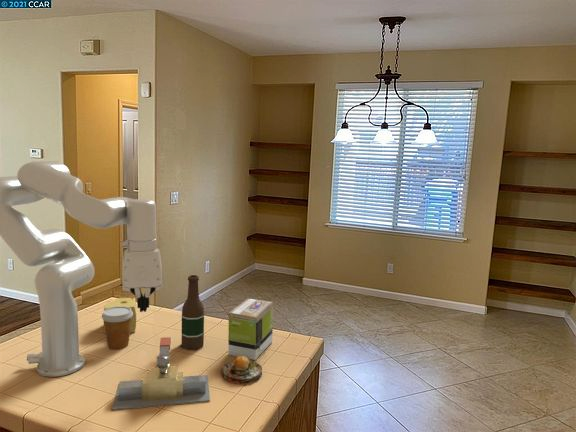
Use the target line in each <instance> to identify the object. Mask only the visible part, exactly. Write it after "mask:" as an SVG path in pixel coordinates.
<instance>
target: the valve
mask: <svg viewBox="0 0 576 432" xmlns="http://www.w3.org/2000/svg"><path fill="white" fill-rule="evenodd" d="M205 375H206V374H202V375H199V374H198V375H187V376H185V375H184V371H178V365H173V366H169V367H167V368H163V369H161V368H158V367H157V366H156V367H150V370H149V373H148V374H147V373H146V374H143V379H135V380H134V379H133V380H121V381H119V384H118V387H119V388H118V387H117V391H118V397H119V401H120V400H132V399H142V400H149V401H156V400H168V399H177V397H183V395H190V394H202V393H206V378H205Z"/></svg>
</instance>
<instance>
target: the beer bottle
mask: <svg viewBox="0 0 576 432" xmlns="http://www.w3.org/2000/svg"><path fill="white" fill-rule="evenodd" d="M199 278H200V277H199V275H196V274H191V275H188V277H187V281H188V286H187V297H186V300H185V302H184V303H183V305H182V310H181V347H182V348H183V349H185V350H187V351H192V350H193V351H194V350H199V349H200V348H201V349H202V348H203V347H204V340H205V337H204V336H205V308H204V304H203V302H202V300H201V299H200V293H199V280H200V279H199Z"/></svg>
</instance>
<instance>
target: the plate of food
mask: <svg viewBox="0 0 576 432" xmlns="http://www.w3.org/2000/svg"><path fill="white" fill-rule="evenodd" d="M262 375H263V368H262V366H261V365H260V363H258V362H256V361H255V360H252V359H248V358H247V357H245V356H242V355H241V356H238V357H237V356H236V357H235V359H234V360H232V361H229V362H226V363H225V364H224V365H223V366H222V369H221V377H222V379H225V380H227V381H228V382H229V383H232V384H235V383H236V384H237V385H247V384H248V385H249V384H252V383H255V382H257V381H259V380H260V379H261V378H262Z"/></svg>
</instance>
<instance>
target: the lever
mask: <svg viewBox="0 0 576 432" xmlns="http://www.w3.org/2000/svg"><path fill="white" fill-rule="evenodd" d="M171 339H172V338H171V336H169V337H167V336H166V337H160V340H159V341H160V342H159V354H158V356H156V368H157V367H158V368H161V369H163V368H167V367H171V366H170V364H171V363H170V361H171V360H170V356H171V355H170V350H171Z"/></svg>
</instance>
